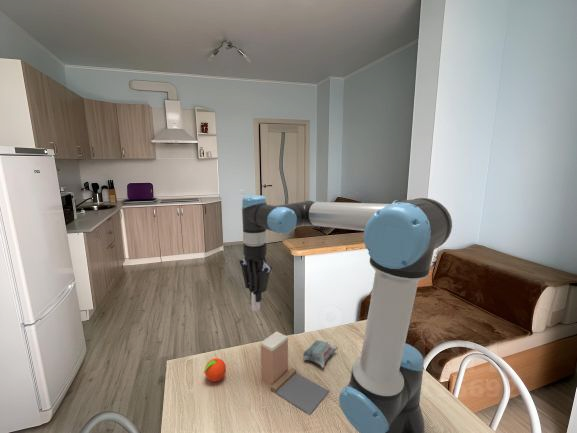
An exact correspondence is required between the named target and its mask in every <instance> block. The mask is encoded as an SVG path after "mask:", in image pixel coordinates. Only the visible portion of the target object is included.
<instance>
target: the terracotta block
mask: <svg viewBox="0 0 577 433" xmlns="http://www.w3.org/2000/svg"><path fill="white" fill-rule="evenodd" d="M288 338H289V337H288V335H285V334H284V333H281V332H279V331H275V332H274V333H272V334H271V335H269V336H268V337H266V338H265V339H264V340H263V341H261V342H260V372H261V373H260V374H261V375H260V378H261V379H260V380H261V381H262V382H264V383H265V384H267V385H268V386H270V387H271V386H272V385H273V384H274V383H275V382H276V381H277V380H278V379H279V378H281V377H282V376H283V375H284V374H285V373H286V372H287V371H288V370H289V339H288Z"/></svg>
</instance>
